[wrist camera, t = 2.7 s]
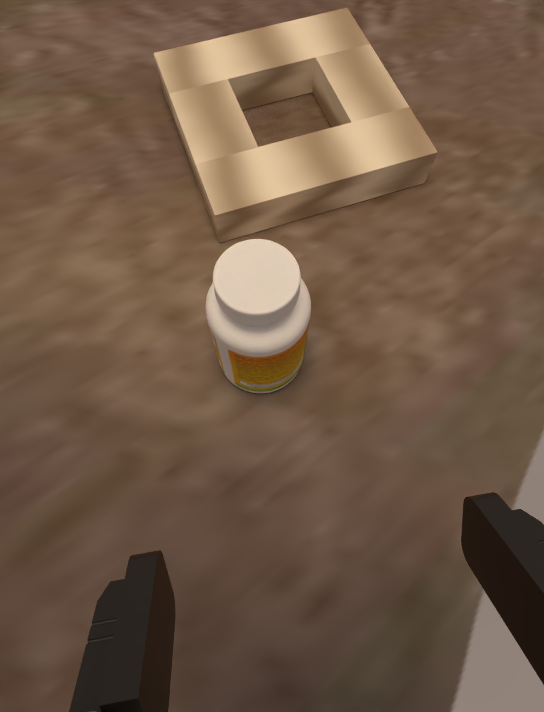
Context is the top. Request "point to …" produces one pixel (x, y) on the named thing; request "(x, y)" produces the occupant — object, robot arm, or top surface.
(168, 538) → the top surface
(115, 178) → the top surface
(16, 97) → the top surface
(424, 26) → the top surface
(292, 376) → the supplement bottle
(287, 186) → the light wooden square frame
